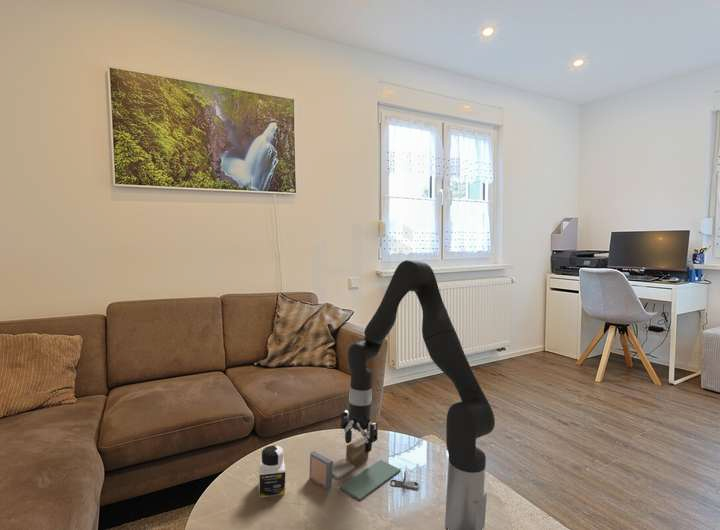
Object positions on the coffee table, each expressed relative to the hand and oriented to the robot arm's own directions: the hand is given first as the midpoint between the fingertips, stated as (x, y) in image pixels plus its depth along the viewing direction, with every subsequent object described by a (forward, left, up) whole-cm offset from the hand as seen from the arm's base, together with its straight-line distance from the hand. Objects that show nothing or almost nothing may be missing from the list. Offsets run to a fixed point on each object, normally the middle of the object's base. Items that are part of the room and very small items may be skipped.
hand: (357, 447), depth 131 cm
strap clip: (-19, 0, -5) cm, 20 cm away
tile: (0, +17, -4) cm, 18 cm away
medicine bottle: (+8, +29, -5) cm, 31 cm away
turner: (0, +4, -4) cm, 6 cm away
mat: (-10, +5, -4) cm, 12 cm away
